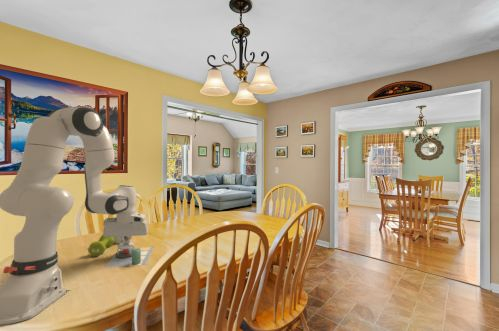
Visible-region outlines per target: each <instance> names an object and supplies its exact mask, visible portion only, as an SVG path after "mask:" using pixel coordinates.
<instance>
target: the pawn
mask: <svg viewBox="0 0 499 331" xmlns="http://www.w3.org/2000/svg"><path fill="white" fill-rule="evenodd" d="M140 263H141V249H133V250H132V265H135V266H138V265H137V264H140Z"/></svg>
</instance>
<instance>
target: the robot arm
mask: <svg viewBox="0 0 499 331" xmlns="http://www.w3.org/2000/svg"><path fill="white" fill-rule="evenodd" d="M70 136H76V137H79V138H80V139H81V141H82V145H83V151H84V155H85V156H84V157H85V164H84V168H83V170H84V182H85V191H86V192H85V193H86V194H85V200H84V207H85V209H86V211H88V212H89V213H91V214H102V215H110V216H111V215H113V216H114V215H115V217H106V218H104V220H103V231H102V232H103V233H102V235H103V236H104V237H120V239H121V241H122V242H123V245H129V244H130V242H131V240H132V238H133V237H135V236H136V237H139V236H147V235H148V233H149V225H148V221H147V220H146V218H147V216H146V214H144V213H139V212H137V208H136V205H137V190H136V188H135V187H134V186H132V185H124V184H123V185H119V186H118V187H117V188H116V189H114V190H113V191H112V192H109V193H106V192H104V191H103V188H102V180H101V177H102V176H101V175H102V172H103V171H104V170H106V169H108V168H109V167H111V165H112V164H113V163H114V162H115V158H116V157H115V154H116V153H115V150H114V145H113V140H112V138H111V135H110V132H109V130H108V128H107V127H106V126H105V125H104V123H103V119H102V117H101V116H100V113H98V111H97V110H95V109H92V108H90V107H83V106H82V107H72V106H71V107H65V108H57V109H55V110H52V111H50V112H49V113H48V114H47V116H39V117H37V118H35V119H34V120H33V121H32V124H31V126H30V128H29V130H28V133H27V136H26V139H25V145H24V147H23V148H24V149H23V154H22V158H21V164H20V166H19V169H18V171H17V174H16V175H15V177H14V179H13V181H12V182H11V183H10V185H8V187H7V188H6V189H5V190H3V191H2V192H1V193H0V209H1V210H2V211H4V212H6V213H8V214H10V215H13V216H18V217H19V216H20V217H25V221H24V225H23V227H22V229H21V230H20V231H19V232H18V233H17V234H16V235H15V236H14V239H13V240H14V241H13V259H12V261H11V263H10V266H5V267H4V268H3V269H2V271H3V272H2V273H3V274H8V275H7V278H6V279H5V280H3V281H4V282H3V283H1V285H0V326H2V325H9V324H14V323H18V322H23V321H27V320H30V319H32V318H34V317H35V316H37V315H38V314H39V313H41V312H42V311H43V310H45V309H47V307H49V306H51V305H52V304H53V303H54V302H56V301H57V300H59V299H60V298H61V297H63V296H64V295H65V294H67V288H64V285H63V276H62V275H63V274H62V269H61V268H60V267H59V266H58V264H57V263H58V261H59V260H58V259H59V254H58V251H57V234H58V230H59V226H60V224H61V221H62V220H63V218H64V216H66V215H68V213H69V212H70V211H71V210H72V209H73V206H74V197H73V194H72V193H71V192H70V191H68V190H66V189H63V188H61V187H57V186H52V185H51V186H50V183H51V182H52V180H53V179H54V177H55V176H57V175H58V174H59V173H60V172H61V171H62V169H63V166H64V158H65V152H66V146H67V139H68V138H69V137H70ZM124 236H128V238H129V240H124Z"/></svg>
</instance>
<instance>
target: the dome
mask: <svg viewBox="0 0 499 331" xmlns="http://www.w3.org/2000/svg"><path fill="white" fill-rule="evenodd" d="M129 248H130V253H131V248H133V249H134V248H135V243H134V242H131V241H130V244H129V245H123V243H121V244H117V250H116V253H117V254H119V250H120V249H121V250H122V249H129Z"/></svg>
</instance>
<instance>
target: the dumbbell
mask: <svg viewBox="0 0 499 331" xmlns="http://www.w3.org/2000/svg"><path fill="white" fill-rule="evenodd" d="M114 241H115V239H114V237H104V236H103V234H101V236H100V238H98V240H97V241H93V242H91V244H90V245H89V246H88V248H87V251H88V253H89V255H90V256H91V257H99V256H100V255H101V256H102V255H104V253H105V251H106V250H107V248H111V246H112V245H113V244H114V243H113V242H114Z"/></svg>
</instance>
